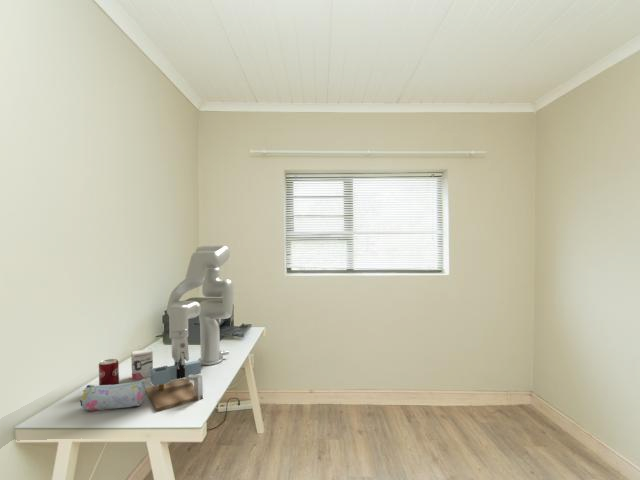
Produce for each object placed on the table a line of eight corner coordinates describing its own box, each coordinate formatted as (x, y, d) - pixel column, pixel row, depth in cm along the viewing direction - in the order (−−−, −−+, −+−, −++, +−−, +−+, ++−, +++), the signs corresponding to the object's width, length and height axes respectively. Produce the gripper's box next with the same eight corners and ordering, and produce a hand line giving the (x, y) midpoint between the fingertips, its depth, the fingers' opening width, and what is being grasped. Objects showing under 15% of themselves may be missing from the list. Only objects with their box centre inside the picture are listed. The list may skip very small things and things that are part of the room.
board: (187, 381, 158) (187, 378, 158) (202, 398, 140) (202, 395, 140) (145, 391, 148) (145, 388, 148) (156, 411, 130) (156, 408, 130)
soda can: (98, 394, 146) (97, 365, 146) (100, 388, 152) (99, 360, 152) (118, 390, 149) (118, 362, 149) (119, 384, 156) (118, 357, 156)
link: (153, 385, 141) (153, 373, 141) (150, 381, 147) (150, 369, 147) (201, 374, 153) (201, 363, 153) (197, 370, 158) (197, 359, 158)
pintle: (163, 391, 148) (163, 371, 148) (164, 393, 146) (164, 373, 146) (158, 392, 146) (157, 373, 146) (159, 394, 145) (158, 374, 145)
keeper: (187, 398, 140) (186, 376, 140) (191, 395, 143) (190, 374, 143) (198, 400, 139) (198, 378, 139) (202, 397, 141) (202, 375, 141)
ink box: (132, 380, 160) (132, 354, 160) (131, 376, 164) (131, 351, 164) (153, 375, 165) (152, 350, 165) (151, 372, 169) (151, 348, 169)
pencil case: (78, 414, 129) (78, 389, 129) (91, 403, 138) (91, 379, 138) (138, 410, 131) (138, 385, 131) (147, 400, 140) (147, 376, 140)
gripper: (193, 336, 146) (194, 380, 146) (182, 328, 159) (183, 369, 159) (174, 339, 142) (175, 385, 141) (165, 331, 155) (165, 373, 155)
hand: (179, 376), depth 150 cm, fingers closed on link, 3 cm apart
